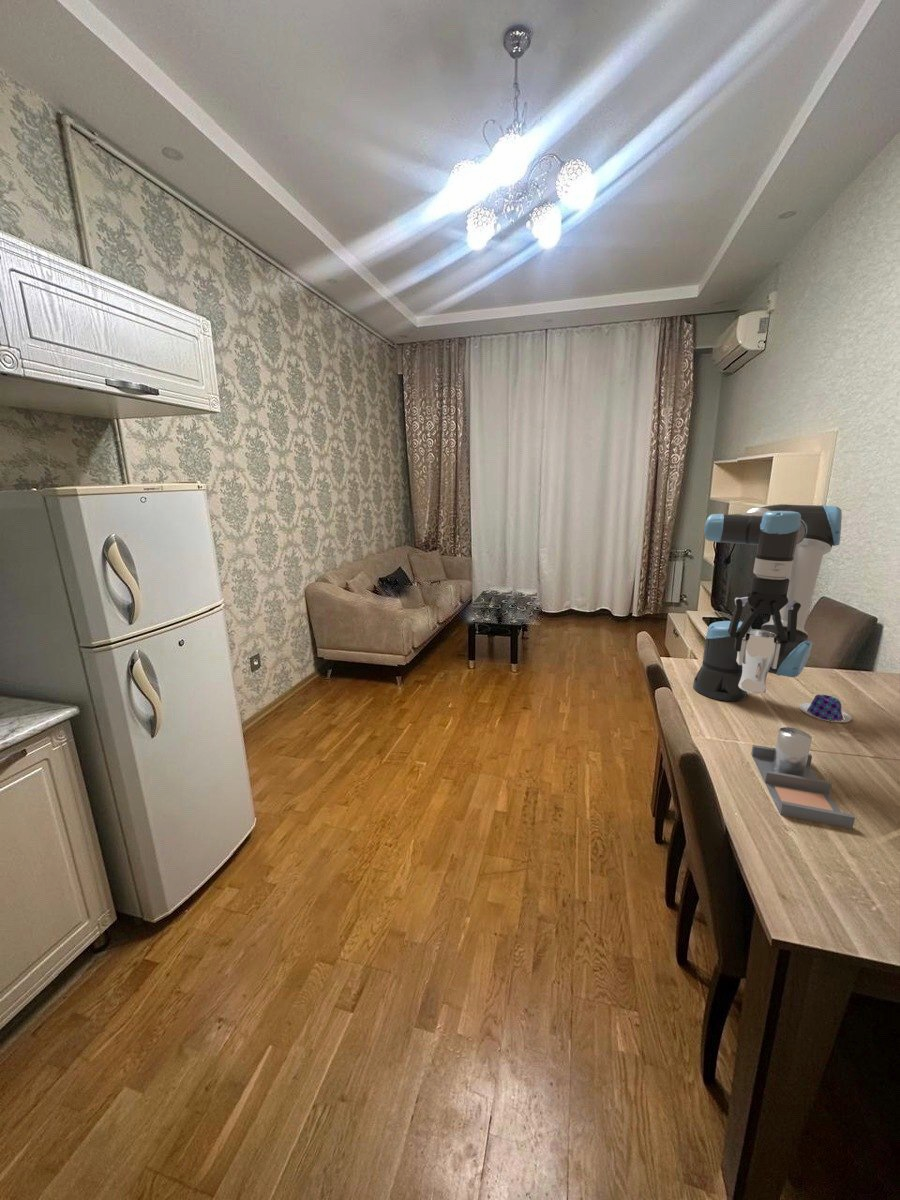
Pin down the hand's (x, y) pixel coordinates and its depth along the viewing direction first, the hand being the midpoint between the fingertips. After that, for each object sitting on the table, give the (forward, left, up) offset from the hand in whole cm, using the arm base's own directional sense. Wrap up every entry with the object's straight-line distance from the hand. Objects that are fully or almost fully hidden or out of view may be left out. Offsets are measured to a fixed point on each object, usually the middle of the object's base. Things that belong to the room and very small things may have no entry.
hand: (755, 664), depth 118 cm
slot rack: (+19, -8, -21) cm, 30 cm away
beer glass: (0, 0, -7) cm, 7 cm away
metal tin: (+15, -5, -20) cm, 26 cm away
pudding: (-2, +36, -22) cm, 42 cm away
